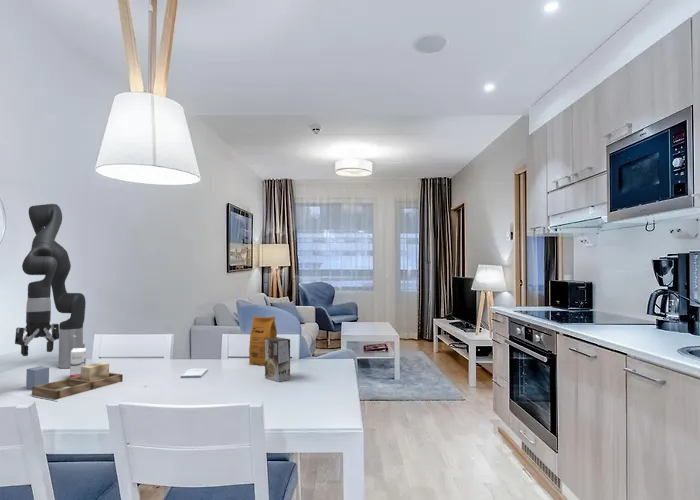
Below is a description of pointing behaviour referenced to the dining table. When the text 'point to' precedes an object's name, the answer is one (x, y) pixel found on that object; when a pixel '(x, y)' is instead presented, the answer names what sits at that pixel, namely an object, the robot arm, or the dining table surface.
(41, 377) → the slate block
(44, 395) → the tray
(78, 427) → the dining table surface
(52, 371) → the dining table surface
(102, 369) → the oak block
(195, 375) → the external hard drive
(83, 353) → the ink box
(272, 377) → the coffee box
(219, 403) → the dining table surface
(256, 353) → the coffee package
